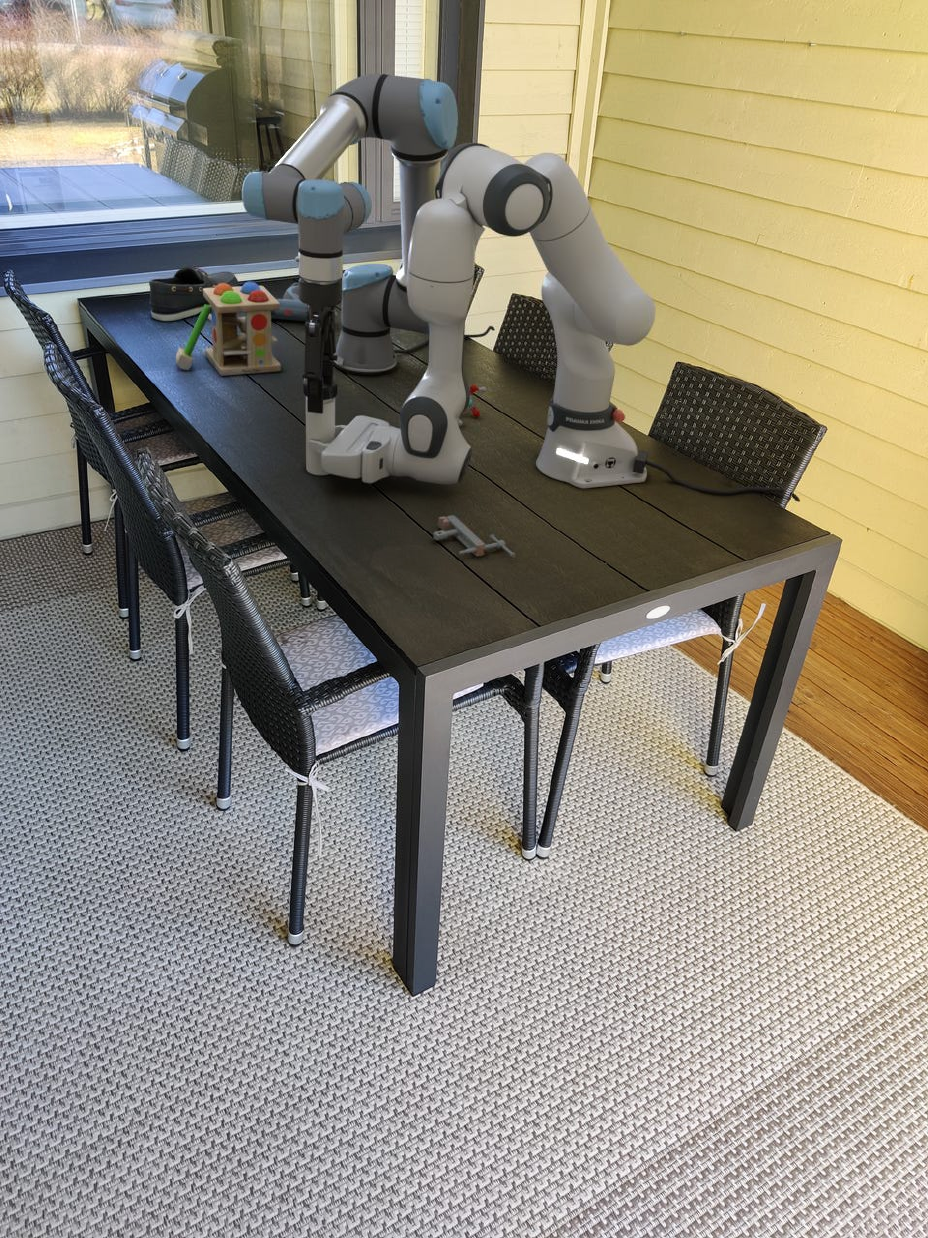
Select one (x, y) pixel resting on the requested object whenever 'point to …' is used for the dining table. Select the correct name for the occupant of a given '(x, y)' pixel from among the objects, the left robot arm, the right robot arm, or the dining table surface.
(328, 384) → the lid
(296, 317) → the power drill
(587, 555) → the dining table surface
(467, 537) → the clamp
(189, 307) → the boat shoe
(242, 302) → the pounding bench toy
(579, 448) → the right robot arm
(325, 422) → the jar
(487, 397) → the dining table surface
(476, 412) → the molecular model
